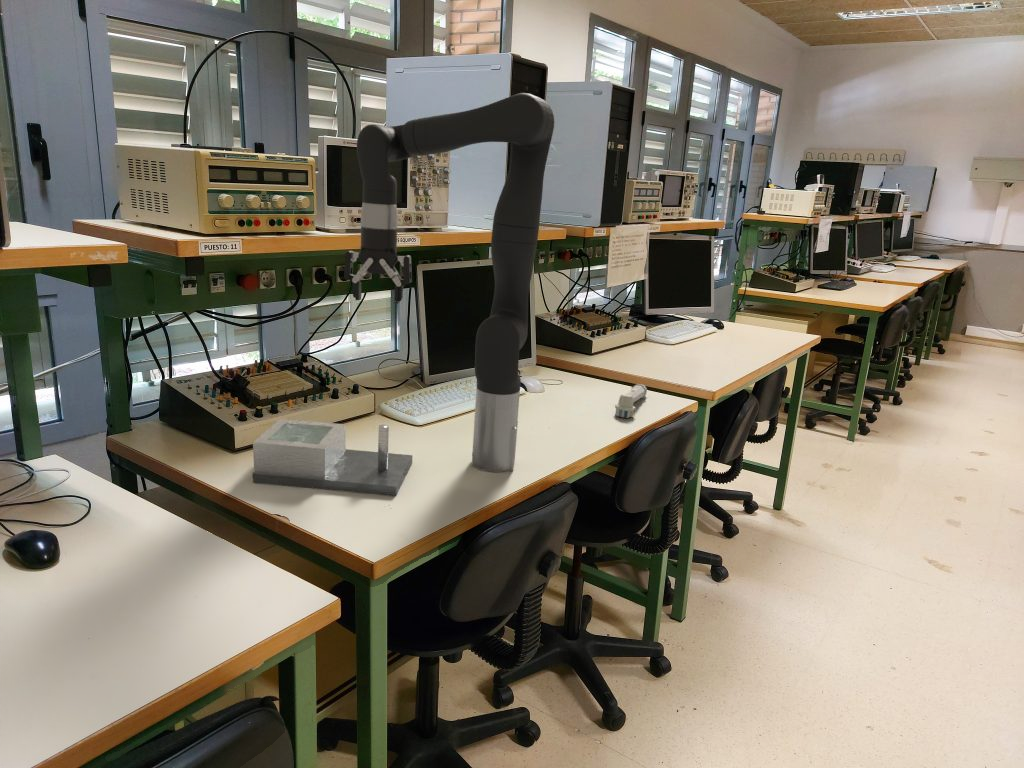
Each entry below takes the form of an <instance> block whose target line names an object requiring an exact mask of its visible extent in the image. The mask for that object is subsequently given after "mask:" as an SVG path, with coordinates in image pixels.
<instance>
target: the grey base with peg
mask: <svg viewBox="0 0 1024 768" xmlns="http://www.w3.org/2000/svg"><path fill="white" fill-rule="evenodd" d="M389 431H390V426H389V425H388V424H379V425H378V436H377V437H378V440H377V441H378V442H377V443H378V445H377V448H378V449H377V451H368V450H357V449H349V448H347V449H346V451H345V453H344V454H343V455H342V456H341V458H340V459H339V460H338V462H337V463H336V464H335V466H334V467H333V468H332V469H331V471H330V472H329V473H328V475H327V476H326V477H325V478H321V477H311V476H300V475H289V474H278V473H267V472H257V471H254V470H253V472H252V483H253V484H261V485H270V486H271V485H272V486H283V487H294V488H304V489H305V488H307V489H313V490H314V489H315V490H326V491H337V492H348V493H357V494H370V495H378V496H379V495H381V496H389V497H397V495H398V493H399V491H400V490H401V487H402V485H403V483H404V482H405V479H406V477H407V475H408V473H409V471H410V470H411V467H412V465H413V454H401V453H389V436H390V435H389V433H390V432H389Z"/></svg>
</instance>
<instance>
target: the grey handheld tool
mask: <svg viewBox="0 0 1024 768" xmlns="http://www.w3.org/2000/svg"><path fill="white" fill-rule="evenodd" d="M647 391H648V388H647V386H646V385H645V384H643V383H636V384H634V385H633V386H632V387H631V389H630V390H629V391H628V392H627V393H621V394H620V395H619V400H618V402H617V403H616V404H615V405H614V408H615V415H616V417H619V418H625V419H629V418H631V417H632V416H634V411H635V410H636V407H635V406H634V403H635V402H637V401H638V400H641V399H640V398H642V399H643V398H644V397H646V395H647ZM632 418H633V417H632Z"/></svg>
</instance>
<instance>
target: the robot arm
mask: <svg viewBox="0 0 1024 768" xmlns="http://www.w3.org/2000/svg"><path fill="white" fill-rule="evenodd" d="M554 115H555V114H554V112H553V108H551V106H550V104H549V103H548V102H547V101H546V100H545V99H542V98H541V97H539V96H536V95H534V94H532V93H528V92H527V93H526V92H520V93H519V92H518V93H516V94H513V95H510V96H508V97H505V98H502V99H500V100H497V101H494V102H493V103H490V104H486V105H483V106H480V107H476V108H472V109H469V110H465V111H459V112H452V113H447V114H446V113H445V114H439V115H434V116H433V115H432V116H428V117H427V116H426V117H422V118H421V117H420V118H415V119H412V120H409V121H407V122H405V123H404V124H399V125H394V126H393V125H392V126H385V125H381V124H373V123H372V124H368V125H365V126H364V127H362V129H361V130H360V131H359V133H358V137H357V140H356V154H357V155H356V156H357V160H358V161H357V162H358V165H359V170H360V174H361V180H362V205H361V214H360V250H359V252H357V251H353V250H348V251H346V252H345V254H344V255H345V256H344V257H345V258H344V267H343V268H344V269H343V278H344V280H346V281H350V282H351V283H352V297H353V298H355V301H357V302H359V301H361V300H362V282H361V280H362V279H363V278H364V276H366V274H368V273H369V275H370V274H372V275H375V274H378V275H381V276H383V275H384V276H385V275H387V276H388V277H389V278H390V279H391V280H392V282H393V283H394V284H395V287H394V304H396V305H399V304H400V302H401V301H402V300H403V297H404V296H403V295H404V286H406V285H409V284H410V283H413V272H412V271H413V269H412V267H413V266H412V265H413V264H412V256H411V255H409V254H406V255H398V251H397V248H398V247H397V246H398V242H397V239H398V210H397V209H398V208H397V207H398V206H397V200H398V199H397V198H398V195H397V194H398V184H397V183H398V182H397V179H396V177H394V176H393V175H391V173H390V168H389V163H393V162H399V161H403V160H407V159H410V158H414V157H422V156H429V155H437V154H442V153H443V154H444V153H446V152H451V151H455V150H458V149H460V148H464V147H467V146H471V145H475V144H481V143H510V156H509V157H510V160H509V168H508V173H507V176H506V179H505V181H504V185H503V187H502V190H501V193H500V194H499V197H498V200H497V203H496V207H495V210H494V213H493V221H492V228H491V229H492V231H491V239H490V240H491V242H490V251H491V252H490V255H491V263H492V269H493V275H494V291H493V299H492V305H491V309H490V315H489V317H488V318H485V320H483V321H482V322H481V323H480V325H479V326H478V329H477V331H476V335H475V352H474V375H475V378H476V387H475V388H476V390H475V391H476V392H475V403H474V422H473V423H474V425H473V438H472V452H471V457H472V458H471V464H472V466H474V468H476V469H479V470H481V471H486V472H492V473H493V472H495V473H499V472H506V471H514V469H515V468H514V467H515V460H516V450H517V449H516V446H517V437H518V436H517V435H518V434H517V433H518V423H519V421H518V420H519V408H520V395H521V394H520V393H521V385H522V384H521V383H522V382H521V381H522V379H521V377H520V375H519V360H520V350H521V349H522V348H523V346H524V345H525V343H526V341H527V338H528V333H529V332H528V327H529V322H528V321H529V315H528V314H529V293H530V285H531V280H532V275H533V270H534V266H535V259H536V258H535V257H536V253H537V246H538V239H539V231H540V220H541V219H540V218H541V210H542V200H543V192H544V191H543V190H544V189H543V188H544V176H545V171H546V170H545V169H546V164H547V160H548V157H549V156H548V155H549V152H550V148H551V147H550V146H551V143H552V139H553V138H552V137H553V133H554V129H555V116H554ZM357 259H358V260H359V262H360V263H361V265H362V266H361V267H360V269H359V270H358V271H357V273H356V274H353V273H354V263H355V262H356V261H357ZM398 262H399V263H400V266H402V267H403V278H402V277H401V276H400V274H399V271H398V270H397V269H396V267H395V266H396V264H397V263H398Z"/></svg>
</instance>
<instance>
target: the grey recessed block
mask: <svg viewBox="0 0 1024 768" xmlns="http://www.w3.org/2000/svg"><path fill="white" fill-rule="evenodd" d="M346 427H347V425H346V424H343V423H334V422H320V421H311V420H309V421H308V420H299V419H298V420H297V419H288V418H279V419H278V420H276V421H275V423H273V424H272V425H271V426H270V427H269V428H268V429H267V430H265V431H264V432H263V433H262V434H260V436H258V438H256V439H255V440H254V441H253V442H252V452H253V455H252V456H253V457H252V458H253V472H254V471H257V472H267V473H278V474H289V475H300V476H311V477H321V478H325V477H326V476H327V475H328V473H329V472H330V471H331V469H332V468H333V467H334V466H335V464H336V463H337V462H338V460H339V459H340V458H341V456H342V455H343V454H344V453H345V451H346V447H347V445H346V443H347V442H346V441H347V440H346V438H347V437H346V435H347V434H346V432H347V428H346Z"/></svg>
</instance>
